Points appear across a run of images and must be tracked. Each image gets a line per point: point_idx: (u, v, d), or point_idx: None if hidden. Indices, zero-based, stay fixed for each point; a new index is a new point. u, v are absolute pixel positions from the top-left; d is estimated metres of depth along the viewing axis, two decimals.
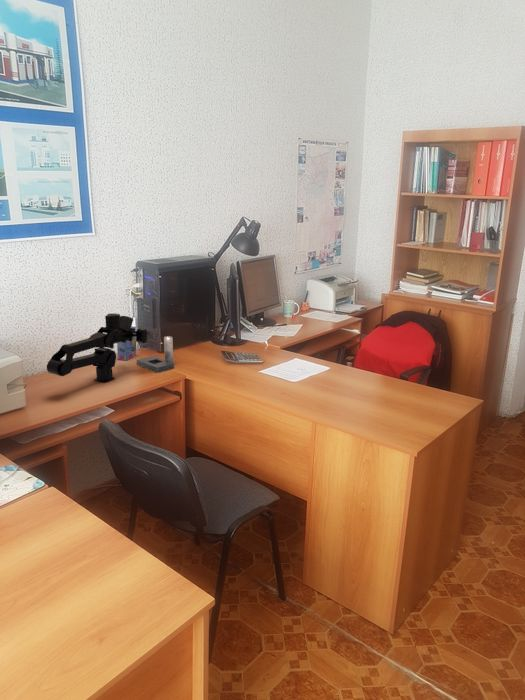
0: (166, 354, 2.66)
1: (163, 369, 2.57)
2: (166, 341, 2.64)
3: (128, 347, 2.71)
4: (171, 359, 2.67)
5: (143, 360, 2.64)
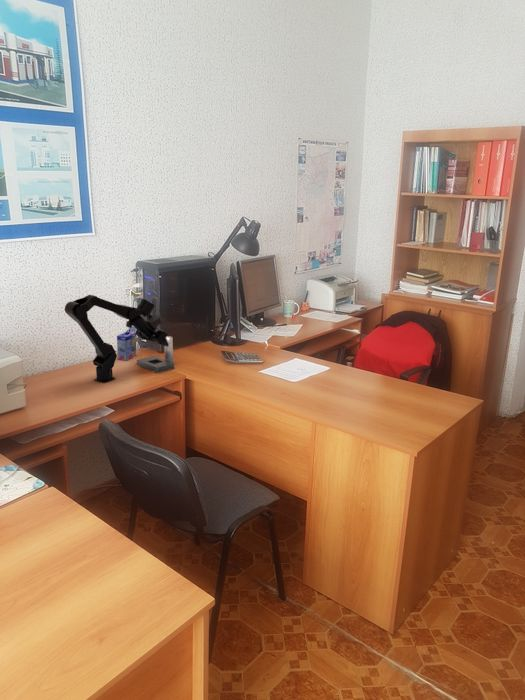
0: (166, 354, 2.66)
1: (163, 369, 2.57)
2: None
3: (128, 347, 2.71)
4: (171, 359, 2.67)
5: (143, 360, 2.64)
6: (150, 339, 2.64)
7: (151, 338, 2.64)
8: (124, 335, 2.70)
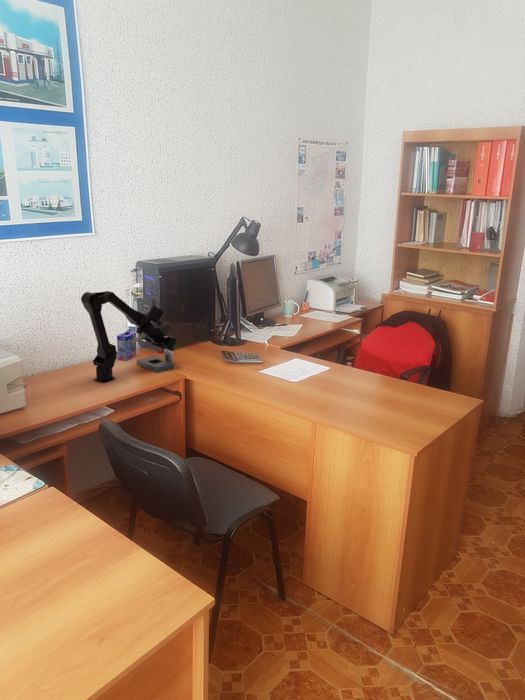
0: (166, 354, 2.66)
1: (163, 369, 2.57)
2: None
3: (128, 347, 2.71)
4: (171, 359, 2.67)
5: (143, 360, 2.64)
6: (162, 346, 2.67)
7: (163, 345, 2.67)
8: (124, 335, 2.70)
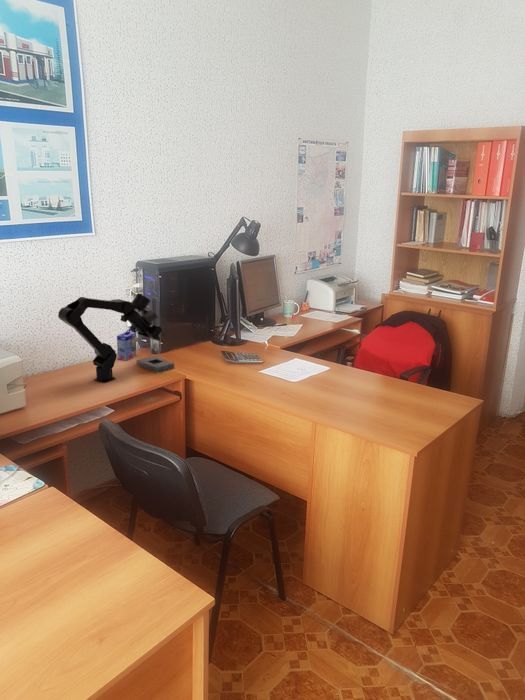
0: (152, 344, 2.59)
1: (163, 369, 2.57)
2: None
3: (128, 347, 2.71)
4: (157, 349, 2.60)
5: (143, 360, 2.64)
6: (148, 336, 2.60)
7: None
8: (124, 335, 2.70)
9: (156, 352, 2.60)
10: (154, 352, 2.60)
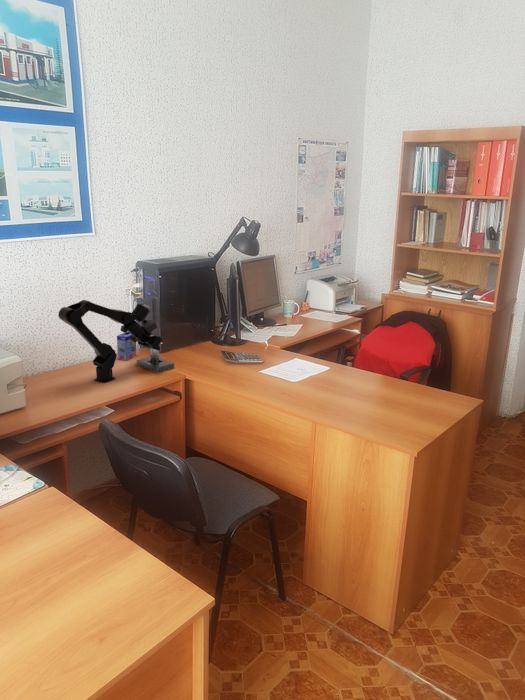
0: (152, 353, 2.60)
1: (163, 369, 2.57)
2: None
3: (128, 347, 2.71)
4: (157, 358, 2.61)
5: (143, 360, 2.64)
6: (148, 345, 2.61)
7: None
8: (124, 335, 2.70)
9: (156, 361, 2.61)
10: (154, 361, 2.61)
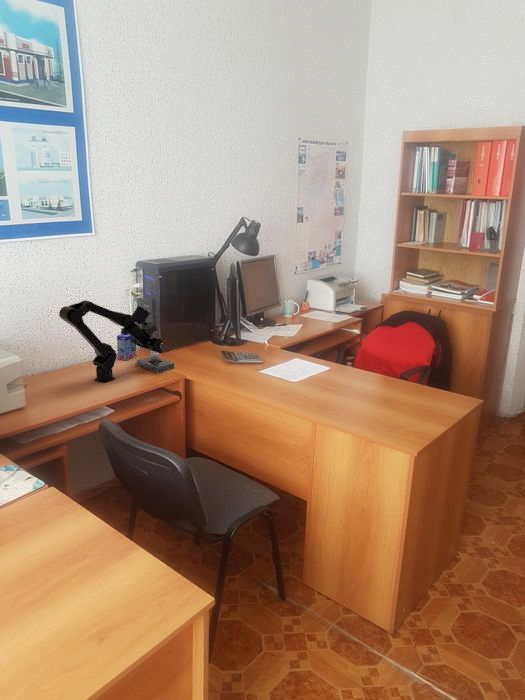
0: (152, 357, 2.60)
1: (163, 369, 2.57)
2: None
3: (128, 347, 2.71)
4: (157, 362, 2.62)
5: (143, 360, 2.64)
6: (146, 347, 2.62)
7: (147, 346, 2.62)
8: (124, 335, 2.70)
9: None
10: None
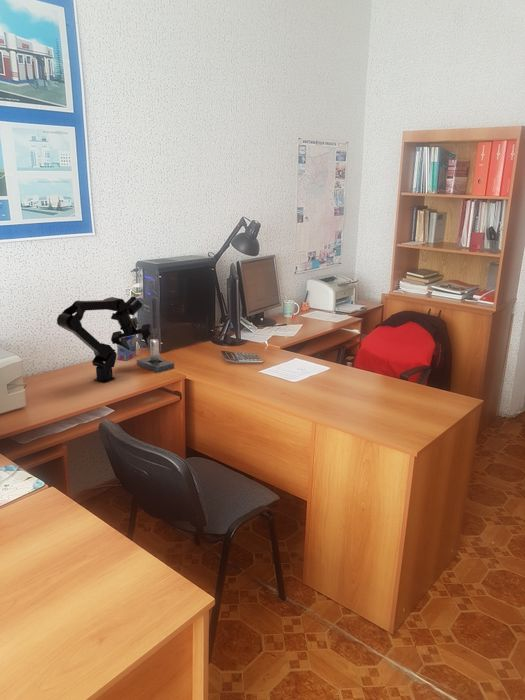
0: (152, 357, 2.60)
1: (163, 369, 2.57)
2: (152, 344, 2.59)
3: None
4: (157, 362, 2.62)
5: (143, 360, 2.64)
6: (126, 345, 2.56)
7: (126, 344, 2.56)
8: None
9: None
10: None
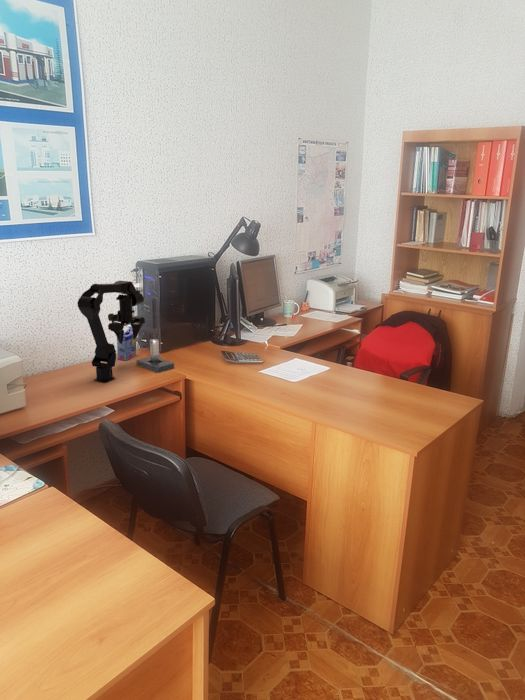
0: (152, 357, 2.60)
1: (163, 369, 2.57)
2: (152, 344, 2.59)
3: (128, 347, 2.71)
4: (157, 362, 2.62)
5: (143, 360, 2.64)
6: None
7: None
8: (124, 335, 2.70)
9: None
10: None
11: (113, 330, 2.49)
